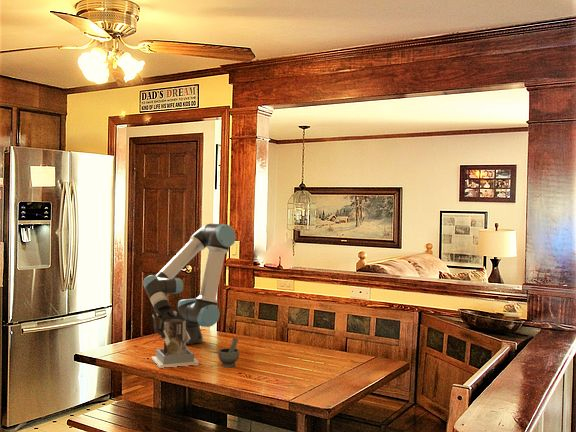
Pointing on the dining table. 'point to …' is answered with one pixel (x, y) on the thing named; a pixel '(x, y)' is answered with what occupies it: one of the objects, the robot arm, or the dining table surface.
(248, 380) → the dining table surface
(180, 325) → the coffee box
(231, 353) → the mortar and pestle
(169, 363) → the collar tray
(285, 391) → the dining table surface
